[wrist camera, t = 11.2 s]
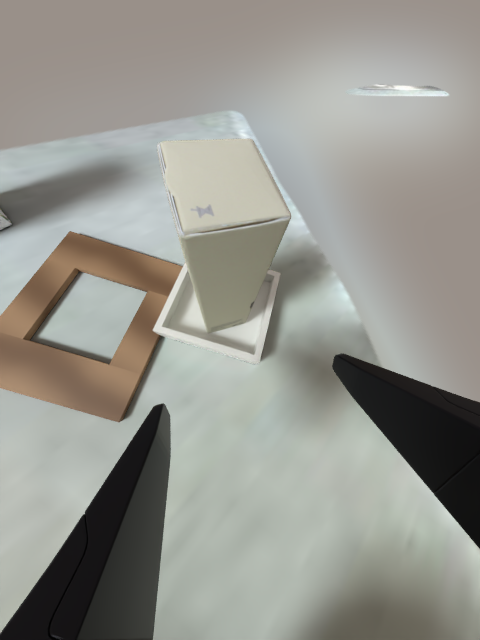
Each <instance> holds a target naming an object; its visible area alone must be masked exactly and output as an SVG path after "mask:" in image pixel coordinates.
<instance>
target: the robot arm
mask: <svg viewBox="0 0 480 640" xmlns="http://www.w3.org/2000/svg"><path fill="white" fill-rule="evenodd" d="M332 367H333V370H334V372H335V373H336V375H337V376H338V377H339V379H340V380H341V382H342V383H343V385H344V386H345V387H346V389H347V390H348V392H349V393H350V394H351V396H352V397H353V398H354V399H355V401H356V402H357V403H358V404H359V405H360V407H361V408H362V409H363V410H364V411H365V412H366V414H367V415H368V416H369V417H370V418H371V420H372V421H373V422H374V423H375V424H376V426H377V427H378V428H379V429H380V430H381V432H382V433H383V434H384V435H385V436H386V437H387V439H388V440H389V441H390V442H391V443H392V445H393V446H394V447H395V448H396V449H397V451H398V452H399V453H400V454H401V455H402V457H403V458H404V459H405V460H406V461H407V463H408V464H409V465H410V466H411V467H412V468H413V470H414V471H415V472H416V473H417V474H418V476H419V477H420V478H421V479H422V480H423V482H424V483H425V484H426V485H427V486H428V488H429V489H430V490H431V491H432V492H433V493H434V495H435V496H436V497H437V498H438V500H439V501H440V502H441V503H442V504H443V506H444V507H445V508H446V509H447V510H448V512H449V513H450V514H451V515H452V516H453V517H454V519H455V520H456V521H457V522H458V523H459V525H460V526H461V527H462V528H463V529H464V531H465V532H466V533H467V534H468V535H469V537H470V538H471V539H472V540H473V541H474V543H475V544H476V545H477V546H478V547H479V548H480V402H477V401H473V400H470V399H467V398H464V397H461V396H458V395H456V394H452V393H450V392H447V391H444V390H442V389H439V388H436V387H432V386H431V385H428V384H425V383H422V382H419V381H417V380H414V379H411V378H409V377H406V376H403V375H401V374H398V373H395V372H392V371H390V370H387V369H384V368H381V367H379V366H376V365H373V364H370V363H368V362H365V361H362V360H360V359H357V358H354V357H351V356H349V355H346V354H338V355H335V357H334V361H333V365H332ZM170 451H171V448H170V414H169V412H168V410H167V408H166V406H165V404H159V405H156V406H154V407H153V408H152V410H151V411H150V413H149V415H148V416H147V418H146V419H145V421H144V422H143V424H142V425H141V427H140V428H139V430H138V431H137V433H136V434H135V436H134V437H133V439H132V441H131V442H130V444H129V445H128V447H127V448H126V450H125V451H124V453H123V454H122V456H121V457H120V459H119V460H118V462H117V464H116V465H115V467H114V468H113V470H112V471H111V473H110V474H109V476H108V477H107V479H106V480H105V482H104V483H103V485H102V486H101V488H100V490H99V491H98V493H97V494H96V496H95V497H94V499H93V500H92V502H91V503H90V505H89V506H88V508H87V509H86V511H85V514H84V515H83V516H82V517H81V518H80V520H79V522H78V523H77V525H76V526H75V528H74V529H73V531H72V532H71V534H70V535H69V537H68V538H67V540H66V541H65V543H64V544H63V546H62V547H61V549H60V550H59V552H58V553H57V555H56V556H55V558H54V559H53V560H52V562H51V563H50V565H49V566H48V568H47V569H46V570H45V572H44V573H43V575H42V576H41V578H40V579H39V580H38V582H37V583H36V585H35V586H34V587H33V589H32V590H31V592H30V593H29V594H28V596H27V597H26V599H25V600H24V601H23V603H22V604H21V606H20V607H19V608H18V610H17V611H16V612H15V614H14V615H13V617H12V618H11V619H10V621H9V622H8V624H7V625H6V626H5V628H4V629H3V630H2V632H1V633H0V640H153V632H154V622H155V612H156V601H157V591H158V581H159V571H160V560H161V550H162V540H163V529H164V519H165V509H166V499H167V488H168V478H169V468H170Z"/></svg>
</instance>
